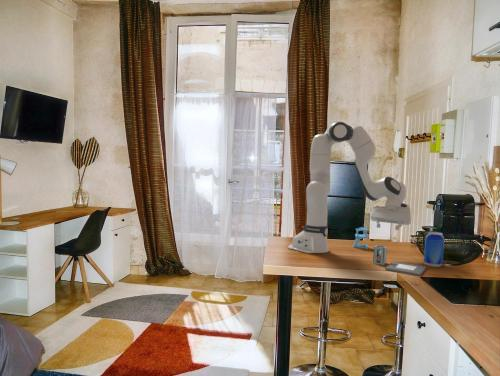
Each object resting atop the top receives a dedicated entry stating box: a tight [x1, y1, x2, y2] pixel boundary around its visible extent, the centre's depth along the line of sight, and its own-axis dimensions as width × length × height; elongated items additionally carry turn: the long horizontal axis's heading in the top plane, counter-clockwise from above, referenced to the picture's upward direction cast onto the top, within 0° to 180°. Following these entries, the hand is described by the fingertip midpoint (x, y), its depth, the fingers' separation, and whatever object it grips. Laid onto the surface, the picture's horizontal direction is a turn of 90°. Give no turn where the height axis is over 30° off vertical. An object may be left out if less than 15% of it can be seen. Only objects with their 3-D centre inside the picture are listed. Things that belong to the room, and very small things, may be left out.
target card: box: [385, 260, 427, 277], centre depth 183 cm, size 15×16×1 cm
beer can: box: [423, 231, 445, 268], centre depth 193 cm, size 8×8×16 cm
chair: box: [352, 226, 369, 250], centre depth 228 cm, size 8×8×12 cm
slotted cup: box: [372, 244, 388, 266], centre depth 193 cm, size 5×5×8 cm
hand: (387, 228), depth 201 cm, fingers open, 8 cm apart
